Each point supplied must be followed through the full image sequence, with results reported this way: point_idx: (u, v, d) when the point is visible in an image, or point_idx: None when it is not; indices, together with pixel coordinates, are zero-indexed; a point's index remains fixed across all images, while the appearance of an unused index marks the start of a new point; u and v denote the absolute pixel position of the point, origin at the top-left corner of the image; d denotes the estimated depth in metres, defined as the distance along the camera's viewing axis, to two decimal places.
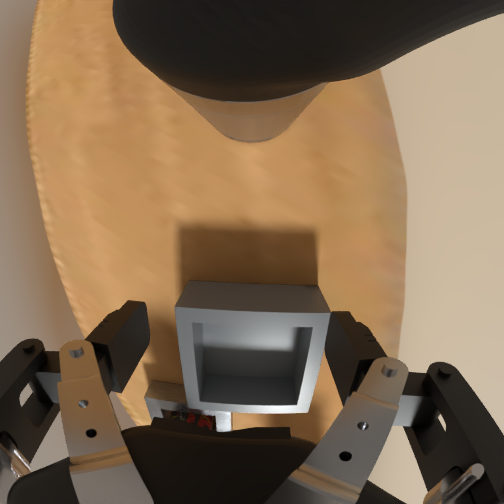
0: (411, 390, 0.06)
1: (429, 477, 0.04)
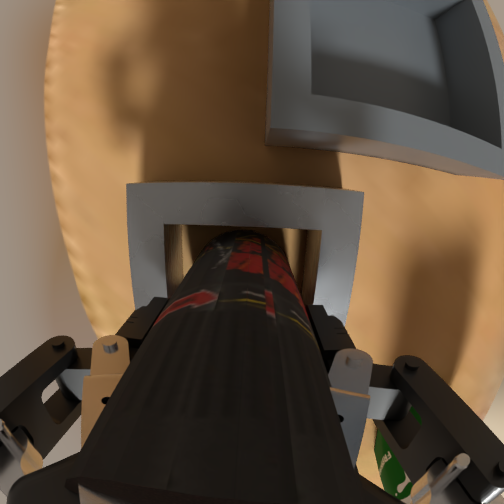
0: (376, 382, 0.07)
1: (411, 469, 0.05)
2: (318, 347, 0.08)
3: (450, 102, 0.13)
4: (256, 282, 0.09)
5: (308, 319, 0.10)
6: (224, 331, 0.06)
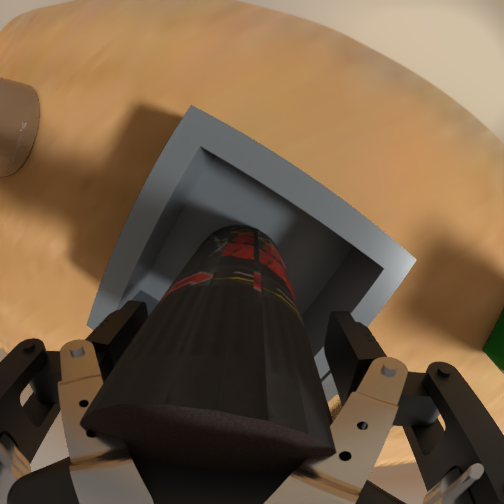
0: (410, 390, 0.06)
1: (429, 477, 0.04)
2: (302, 322, 0.09)
3: (314, 217, 0.18)
4: (246, 265, 0.10)
5: (295, 299, 0.11)
6: (216, 299, 0.07)
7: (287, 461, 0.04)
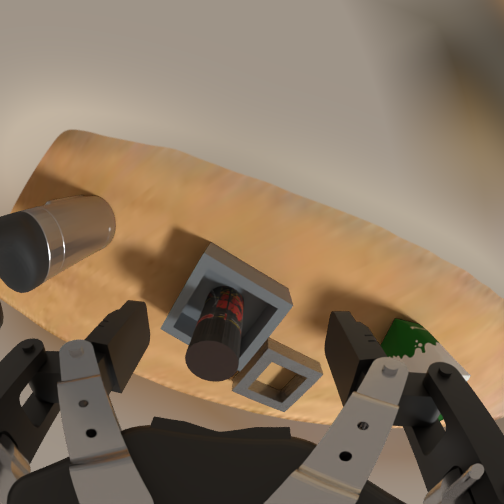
0: (411, 390, 0.06)
1: (429, 477, 0.04)
2: (239, 327, 0.34)
3: None
4: (223, 311, 0.34)
5: (239, 320, 0.35)
6: (214, 322, 0.31)
7: (225, 353, 0.28)
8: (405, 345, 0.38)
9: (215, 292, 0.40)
